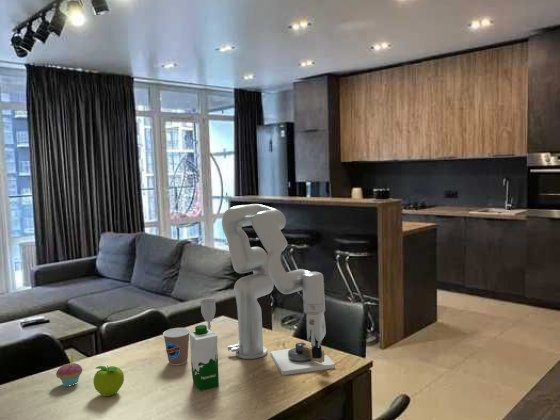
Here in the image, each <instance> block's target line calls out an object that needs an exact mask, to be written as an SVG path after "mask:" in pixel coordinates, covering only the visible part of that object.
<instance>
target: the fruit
mask: <svg viewBox="0 0 560 420" xmlns="http://www.w3.org/2000/svg"><path fill="white" fill-rule="evenodd" d="M95 369H96V370H97V369H99V370H97V371H96V372H95V374H94V377H93V387H94V389H95V390H96V392H98V393H99V394H100V395H101V396H103V397H109V396H113V395H116V393H118V392H119V390H120V389H121V388H122V386H123V384H124V380H125V374H124V371H123V370H122V369H121V368H120V367H117V366H115V365H110V366H109V365H107V366H104V365H99V366H96V367H95Z"/></svg>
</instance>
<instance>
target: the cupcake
mask: <svg viewBox="0 0 560 420" xmlns="http://www.w3.org/2000/svg"><path fill="white" fill-rule="evenodd" d="M73 359H74V352H73V351H71V354H70V363H66V364H63V365H61V366H60V367H59V368H57V371H56V374H55V376H56V378H58V379H60V381H61V383H62V385H63V386H64V385H65V386H64V387H66V386H69V385H73V384H75V383H77V382H78V383H79V379H80V377H81V374H82V373H83V367H82V366H81V364H79V363H76V362H75V363H74V362H73ZM78 383H77V384H78ZM69 387H70V386H69Z"/></svg>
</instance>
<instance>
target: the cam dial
mask: <svg viewBox="0 0 560 420" xmlns="http://www.w3.org/2000/svg"><path fill="white" fill-rule="evenodd" d="M290 349H291V350H289V351H288V359H289V360H291V361H293V362H308V361H311V360H314V361H316V362H319V363H322V362H324V352H325V351H324V350H323V349H322V357H321V358H320V359H318V358H312V347H311V345H308V344H306V343H305V342H296V343H295V347H294V348H293V349H292V348H290Z"/></svg>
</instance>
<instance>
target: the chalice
mask: <svg viewBox="0 0 560 420" xmlns="http://www.w3.org/2000/svg"><path fill="white" fill-rule="evenodd" d="M216 302H217V299H215V298H204V299H200V300H199V303H200V312H201V315H202V318H203V319H204V321H205V322H207V325H206V326H207V330H209V329H210V330H211V331H212V325H211V322H212V321H213V319H214V317H215V316H216V315H215V314H216V312H217V311H216Z"/></svg>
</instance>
